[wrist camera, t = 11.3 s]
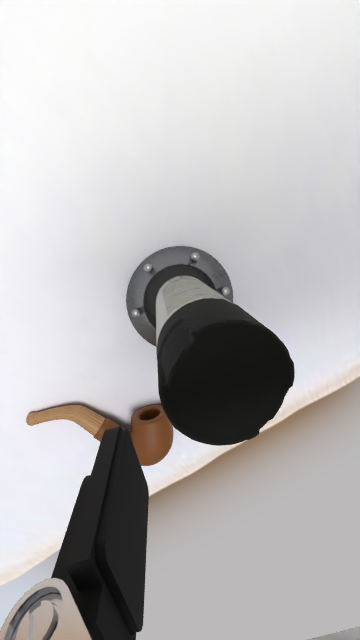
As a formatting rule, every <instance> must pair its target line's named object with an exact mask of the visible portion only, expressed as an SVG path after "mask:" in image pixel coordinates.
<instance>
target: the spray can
mask: <svg viewBox="0 0 360 640" xmlns="http://www.w3.org/2000/svg"><path fill="white" fill-rule="evenodd" d="M156 343H157V361H158V386H159V396H160V401H161V404H162V407H163V410H164V412H165V414H166V416H167V418H168V420H169V421H170V422H171V424H172V425H173V426H174V428H176V429H177V430H178V431H180V432H181V433H182V434H184V435H186V436H187V437H189V438H191V439H192V440H195V441H198V442H201V443H205V444H210V445H218V446H219V445H232V444H236V443H239V442H242V441H245V440H249V439H251V438H254V437H256V436H257V435H258V434H259V429H261V428H262V427H263V426H264V425H265V424H266V423H267V422H268V421H269V420H271V419H273V418H274V416H275V415H276V413H277V412H278V410H279V408H280V407H281V405H282V403H283V400H284V397H285V395H286V393H287V391H288V390H289V388H290V387H292V386H293V382H294V364H293V361H292V359H291V358H290V355H289V352H288V350H287V348H286V346H285V345H284V343H283V342H282V341H281V340H280V339H279V338H278V337H277V336H276V335H275V334H274V333H273V332H272V331H271V330H269V329H268V328H266V327H265V326H264V325H262V324H261V323H260V322H258V321H257V320H256V319H255V318H253V317H252V316H251V315H249V314H248V313H247V312H245V311H244V310H243V309H242V308H240V307H239V306H238V305H236V304H234V303H232V302H231V301H229V300H228V299H226V298H225V297H223V296H222V295H220V294H219V293H218V292H216V291H215V290H213V289H212V288H210V287H209V286H207V285H206V284H205V283H203V282H202V281H200V280H198V279H197V278H194V277H191V276H177V277H174V278H172V279H170V280H168V281H167V282H166V283H165V284H164V285H163V286H162V287H161V288H160V290H159V292H158V294H157V297H156Z"/></svg>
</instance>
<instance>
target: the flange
mask: <svg viewBox="0 0 360 640" xmlns="http://www.w3.org/2000/svg"><path fill="white" fill-rule="evenodd" d="M177 276H191V277H194V278H197V279H198V280H200V281H202V282H203V283H205V284H206V285H207V286H209V287H210V288H212V289H213V290H215V291H216V292H218V293H219V294H220V295H222V296H223V297H225V298H226V299H228V300H229V301H231V302H232V303H233V291H232V286H231V282H230V279H229V277H228V275H227V273H226V271H225V269H224V268H223V267H222V265H221V264H220V263H219V262H218V261H217V260H216V259H215V258H213V257H212V256H211V255H209V254H207V253H206V252H204V251H202V250H199V249H196V248H192V247H185V246H175V247H169V248H165V249H162V250H159V251H157V252H155V253H153V254H152V255H150V256H149V257H147V258H146V259H145V260H144V261H143V262H142V263H141V264H140V265H139V266H138V268H137V269H136V271H135V272H134V274H133V276H132V278H131V280H130V283H129V286H128V290H127V299H126V302H127V310H128V314H129V317H130V320H131V322H132V324H133V326H134V328H135V329H136V330H137V332H138V333H139V334H140V335H141V336H142V337H143V338H144V339H145V340H146V341H148V342H149V343H151V344H152V345H154V346H156V347H157V343H156V297H157V294H158V292H159V290H160V288H161V287H162V286H163V285H164V284H165V283H166V282H167V281H168V280H170V279H172V278H174V277H177Z"/></svg>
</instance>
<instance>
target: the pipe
mask: <svg viewBox="0 0 360 640" xmlns="http://www.w3.org/2000/svg"><path fill="white" fill-rule="evenodd" d="M58 419H67V420H71V421H74V422H75V423H77V424H78V425H80V426H81V427H82V428H84V429H85V430H86V431H88V432H89V433H90V434H92V435H93V436H94V438H95V439H97V440H99V441H100V442H101V440H102V436H103V433H104V431H105V430H106V429H110V428H115V427H119V426H120V425H118V424H117V423H115V422H113V421H112V420H110V419H108V418H106V419H105V418H104V417H103V416H101V415H99V414H97V413H96V412H94V411H92V410H90V409H88V408H86V407H84V406H81V405H68V406H61V407H56V408H51V409H47V410H43V411H40V412H37V413H36V412H31V413H30V414H28V416H27V419H26V422H27V424H28V425H30V426H32V425H35V424H39V423H42V422H46V421H51V420H58ZM131 426H132V432H130V431H129V433H130V436H131V439H132V442H133V445H134V448H135V451H136V454H137V456H138V459H139V462H140V465H141V466H150V465H154V464H156V463H158V462H159V461H161V460H162V459H163V458H164V457H165V456H166V455H167V453H168V452H169V450H170V448H171V446H172V442H173V426H172V424H171V422H170V421H169V420H168V418H167V416H166V414H165V412H164V410H163V407H162V405H149V406H146V407H143V408H141V409H139V410H138V411H136V412H135V413H134V414H133V416H132V418H131ZM122 428H123V427H122ZM124 429H125V428H123V430H124Z"/></svg>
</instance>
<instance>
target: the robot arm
mask: <svg viewBox="0 0 360 640" xmlns="http://www.w3.org/2000/svg"><path fill="white" fill-rule="evenodd" d="M148 499H149V493H148V486H147V482H146V479H145V477H144V474H143V471H142V468H141V465H140V462H139V459H138V456H137V454H136V451H135V448H134V445H133V442H132V439H131V436H130V433H129V431H128V429H124V430H123V428H122V427H121V426H119V427H115V428H110V429H106V430H105V431H104V433H103V436H102V440H101V443H100V446H99V450H98V453H97V456H96V460H95V463H94V467H93V470H92V473H91V475H89V476H86V477H85V478H84V480H83V482H82V485H81V488H80V491H79V494H78V497H77V500H76V503H75V506H74V509H73V512H72V515H71V519H70V522H69V525H68V528H67V531H66V534H65V537H64V540H63V543H62V546H61V549H60V552H59V555H58V559H57V562H56V565H55V568H54V571H53V574H52V577H51V579H46V580H44V581H42V582H40V583H38V584H36V585H35V586H33V587H32V588H31V589H30V590H28V591H27V592H26V593H25V594H24V595H23V596H22V597H21V598H20V600H19V601H18V602H17V603H16V604H15V605H14V607H13V608H12V610H11V612H10V613H9V615H8V616H7V618H6V619H5V622H4V624H3V626H2V628H1V630H0V640H136V632H139V631H141V630H142V626H143V611H144V590H145V567H146V543H147V521H148ZM310 640H360V627H356V628H352V629H348V630H344V631H340V632H336V633H333V634H329V635H325V636H321V637H317V638H313V639H310Z"/></svg>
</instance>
